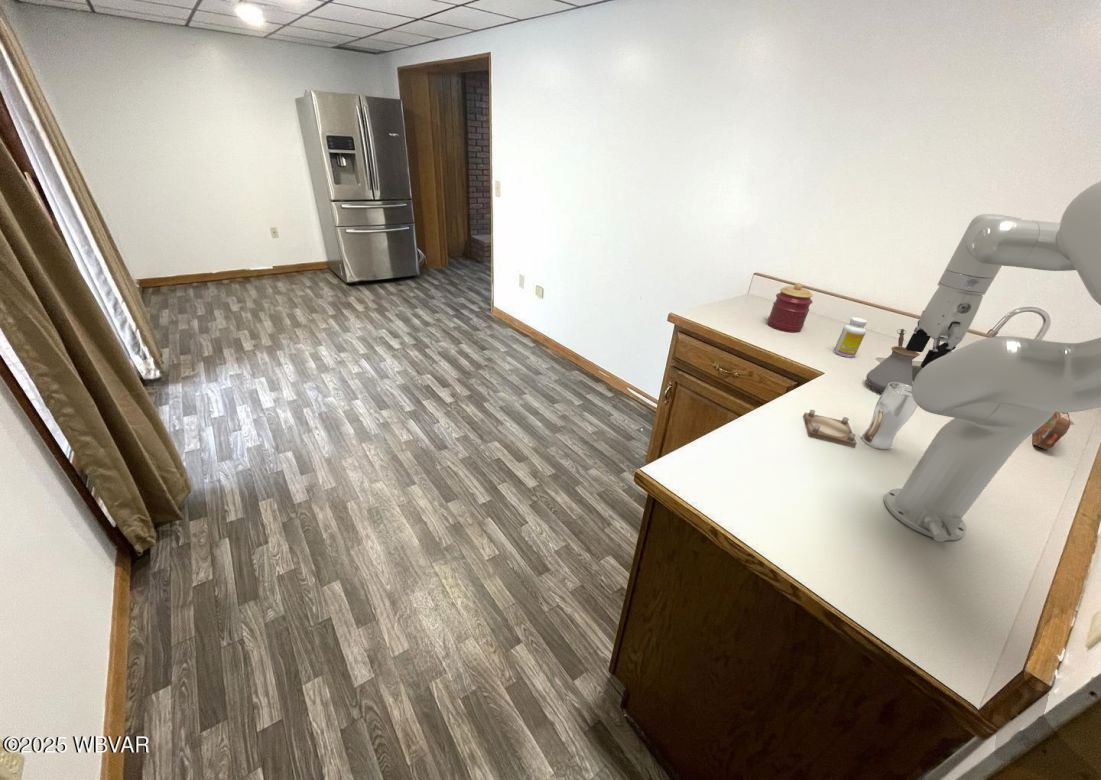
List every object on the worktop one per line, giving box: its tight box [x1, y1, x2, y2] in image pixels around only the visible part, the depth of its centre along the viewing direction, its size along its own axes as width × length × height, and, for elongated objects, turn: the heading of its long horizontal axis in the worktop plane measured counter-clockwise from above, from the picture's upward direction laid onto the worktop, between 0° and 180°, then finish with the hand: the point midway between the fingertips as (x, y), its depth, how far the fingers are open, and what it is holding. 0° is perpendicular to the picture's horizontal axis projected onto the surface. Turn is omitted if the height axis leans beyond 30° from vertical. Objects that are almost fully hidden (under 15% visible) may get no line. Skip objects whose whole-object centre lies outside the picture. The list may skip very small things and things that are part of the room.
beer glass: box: [861, 382, 919, 451], centre depth 101 cm, size 7×7×15 cm
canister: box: [767, 283, 813, 333], centre depth 168 cm, size 13×13×18 cm
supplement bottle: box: [833, 316, 868, 358], centre depth 149 cm, size 7×7×13 cm
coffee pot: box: [866, 328, 921, 394], centre depth 130 cm, size 21×12×15 cm, turn 149°
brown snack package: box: [1031, 412, 1071, 450], centre depth 108 cm, size 15×3×8 cm, turn 135°
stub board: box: [803, 409, 858, 448], centre depth 107 cm, size 10×10×3 cm
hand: (920, 359), depth 94 cm, fingers open, 9 cm apart
